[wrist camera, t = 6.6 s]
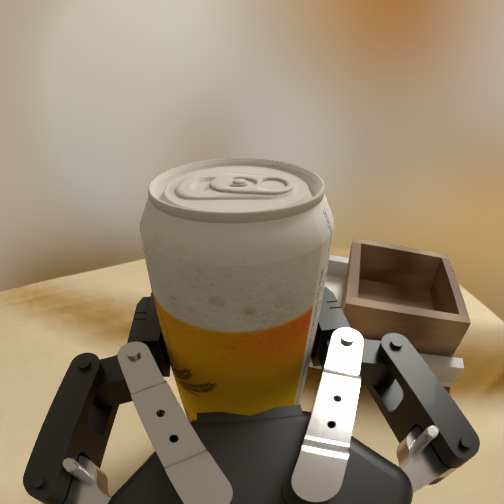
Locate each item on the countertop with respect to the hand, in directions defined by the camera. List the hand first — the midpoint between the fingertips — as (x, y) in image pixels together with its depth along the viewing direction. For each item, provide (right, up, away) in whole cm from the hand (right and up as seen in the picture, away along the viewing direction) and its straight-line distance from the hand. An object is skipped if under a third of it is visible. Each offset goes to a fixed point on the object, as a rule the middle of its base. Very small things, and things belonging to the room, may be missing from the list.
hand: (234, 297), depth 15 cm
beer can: (0, -9, +2) cm, 9 cm away
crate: (+13, -4, +10) cm, 17 cm away
